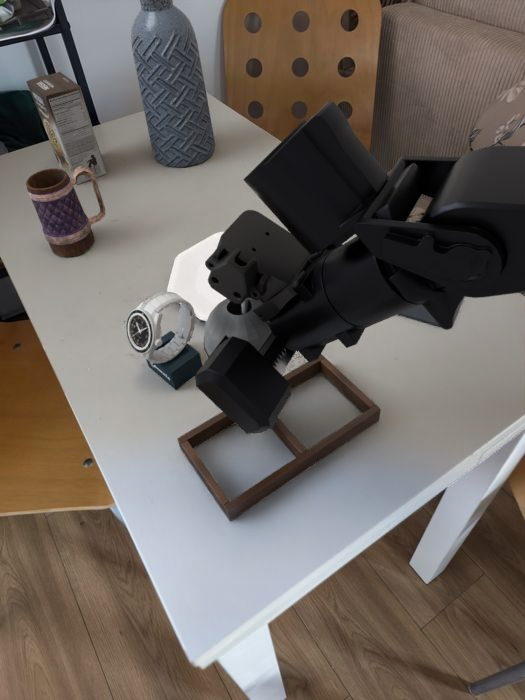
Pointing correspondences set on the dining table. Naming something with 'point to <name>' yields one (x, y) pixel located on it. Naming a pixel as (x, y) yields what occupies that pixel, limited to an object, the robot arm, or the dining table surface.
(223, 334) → the beverage cup
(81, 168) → the mug
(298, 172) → the robot arm
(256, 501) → the frame
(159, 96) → the vase
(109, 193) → the dining table surface
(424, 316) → the coaster
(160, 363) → the watch
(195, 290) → the plate
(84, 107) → the coffee box
